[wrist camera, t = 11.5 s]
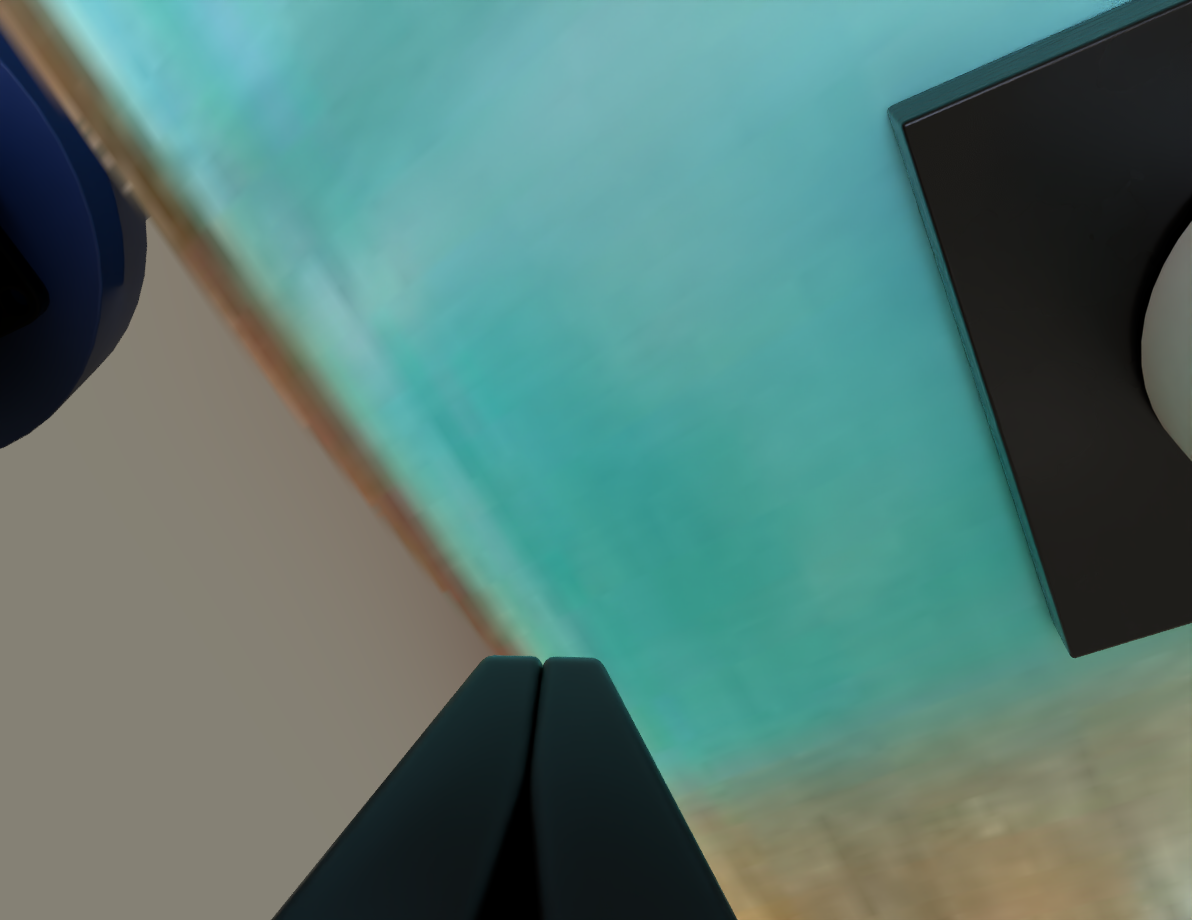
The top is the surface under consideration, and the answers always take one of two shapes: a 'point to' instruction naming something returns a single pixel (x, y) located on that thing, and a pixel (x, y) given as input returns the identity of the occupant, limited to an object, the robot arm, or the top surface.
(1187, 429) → the towel roll
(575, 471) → the top surface
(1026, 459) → the holder
